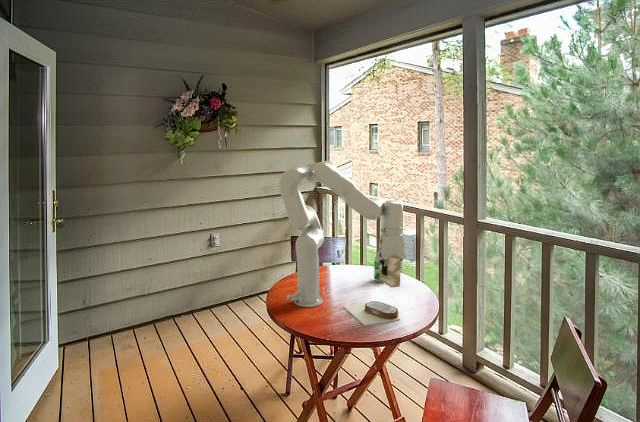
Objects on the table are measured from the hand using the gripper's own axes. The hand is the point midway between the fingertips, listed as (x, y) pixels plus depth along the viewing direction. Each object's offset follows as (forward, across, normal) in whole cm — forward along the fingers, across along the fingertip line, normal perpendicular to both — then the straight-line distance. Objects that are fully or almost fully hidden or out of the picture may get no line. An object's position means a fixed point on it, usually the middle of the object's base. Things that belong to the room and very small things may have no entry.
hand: (389, 273), depth 181 cm
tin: (+14, -1, -1) cm, 14 cm away
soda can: (+16, +16, +34) cm, 41 cm away
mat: (+16, -8, -1) cm, 18 cm away
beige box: (+4, 0, 0) cm, 4 cm away
